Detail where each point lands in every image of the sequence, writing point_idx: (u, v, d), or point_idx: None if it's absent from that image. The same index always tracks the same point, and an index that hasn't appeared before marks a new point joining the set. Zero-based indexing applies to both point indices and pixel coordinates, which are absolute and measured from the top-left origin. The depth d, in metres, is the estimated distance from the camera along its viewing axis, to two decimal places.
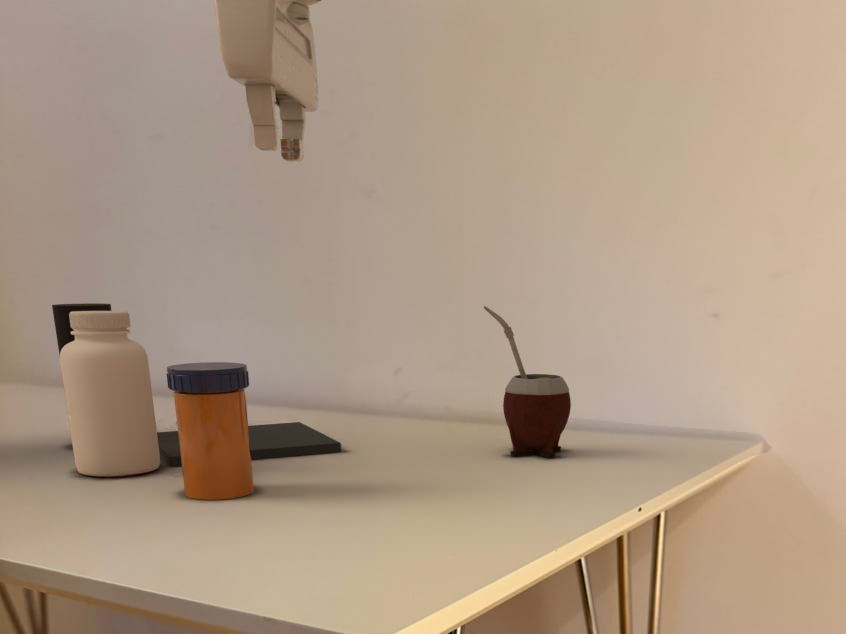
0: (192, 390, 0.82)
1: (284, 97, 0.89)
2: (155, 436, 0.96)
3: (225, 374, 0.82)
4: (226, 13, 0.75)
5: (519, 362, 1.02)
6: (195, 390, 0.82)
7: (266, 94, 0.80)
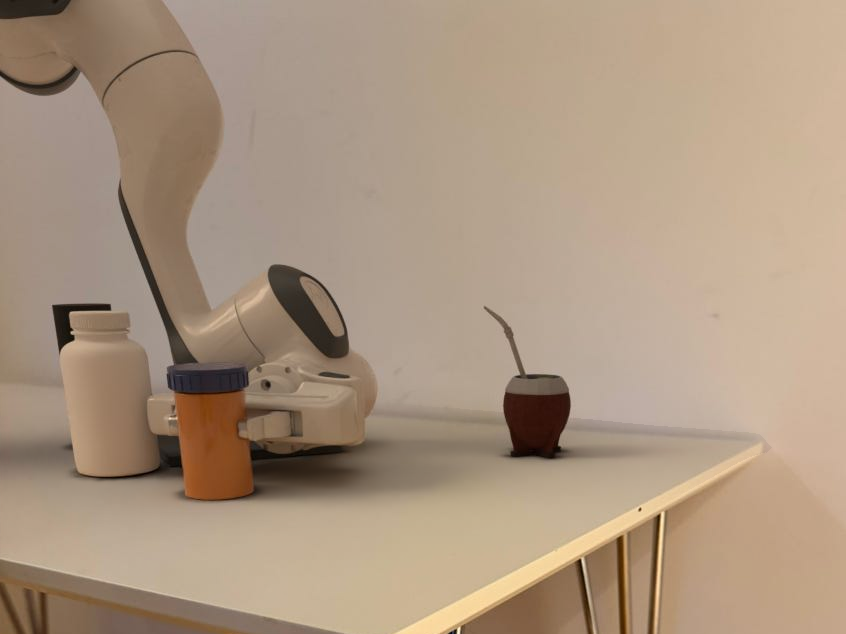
0: (192, 390, 0.82)
1: None
2: (155, 436, 0.96)
3: (225, 374, 0.82)
4: (353, 405, 0.90)
5: (519, 362, 1.02)
6: (195, 390, 0.82)
7: (286, 431, 0.88)
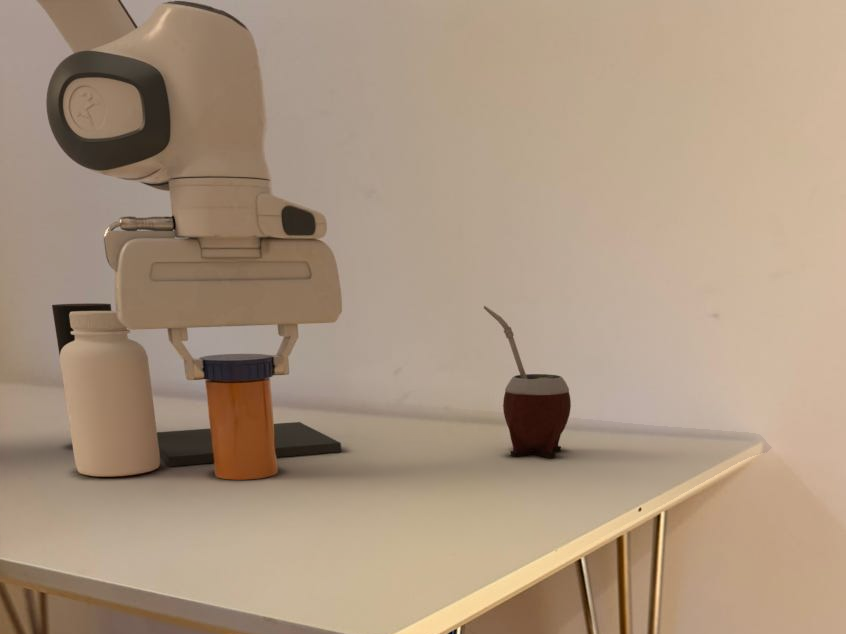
0: (223, 379, 0.90)
1: None
2: (155, 436, 0.96)
3: (253, 364, 0.90)
4: None
5: (519, 362, 1.02)
6: (226, 379, 0.89)
7: None
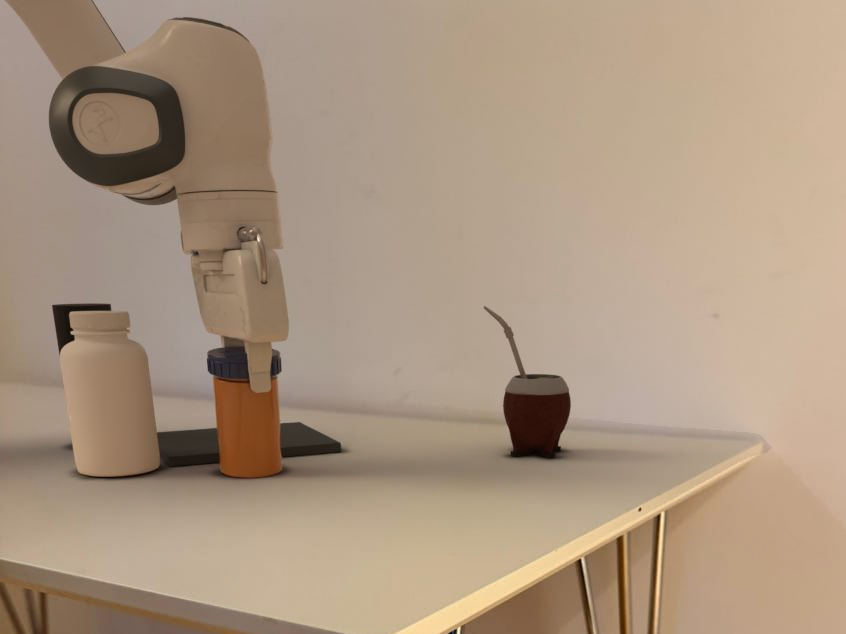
0: (278, 372, 0.92)
1: None
2: (155, 436, 0.96)
3: None
4: None
5: (519, 362, 1.02)
6: (279, 372, 0.92)
7: None
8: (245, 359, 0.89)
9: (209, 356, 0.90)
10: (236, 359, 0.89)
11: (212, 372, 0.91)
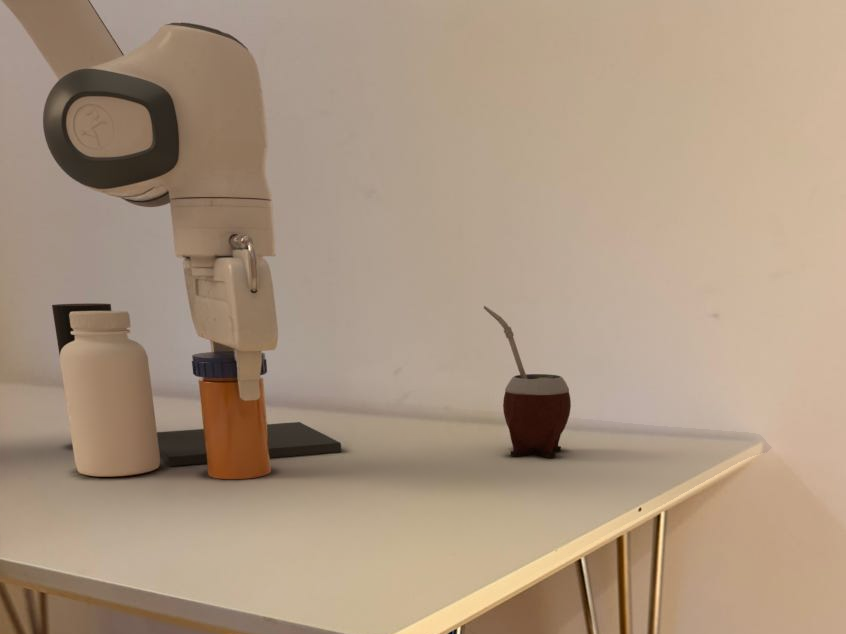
0: None
1: None
2: (155, 436, 0.96)
3: None
4: None
5: (519, 362, 1.02)
6: (264, 372, 0.92)
7: None
8: (228, 358, 0.89)
9: (193, 358, 0.91)
10: (219, 358, 0.89)
11: (196, 373, 0.91)
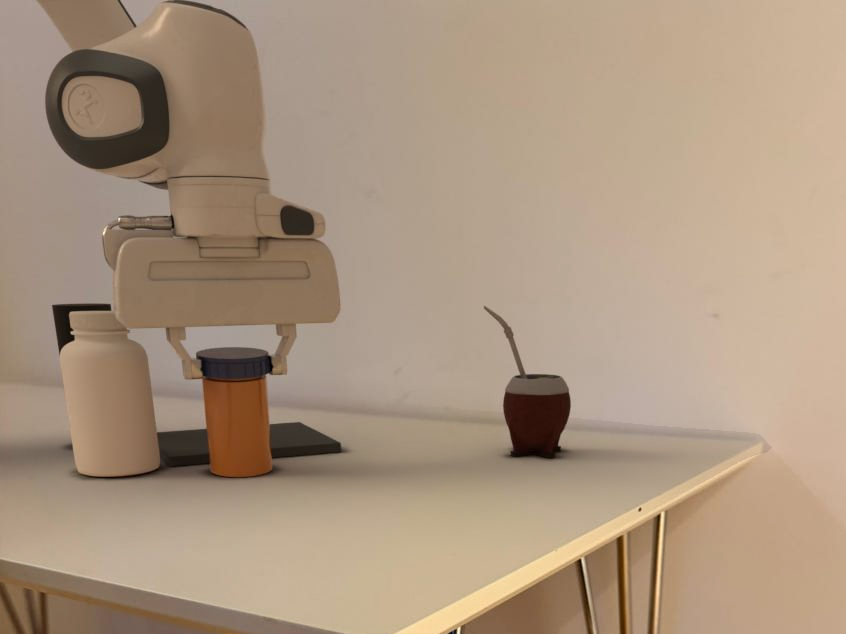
0: (256, 375, 0.91)
1: None
2: (155, 436, 0.96)
3: (268, 357, 0.93)
4: None
5: (519, 362, 1.02)
6: (258, 375, 0.91)
7: None
8: (215, 358, 0.89)
9: None
10: (207, 358, 0.90)
11: None
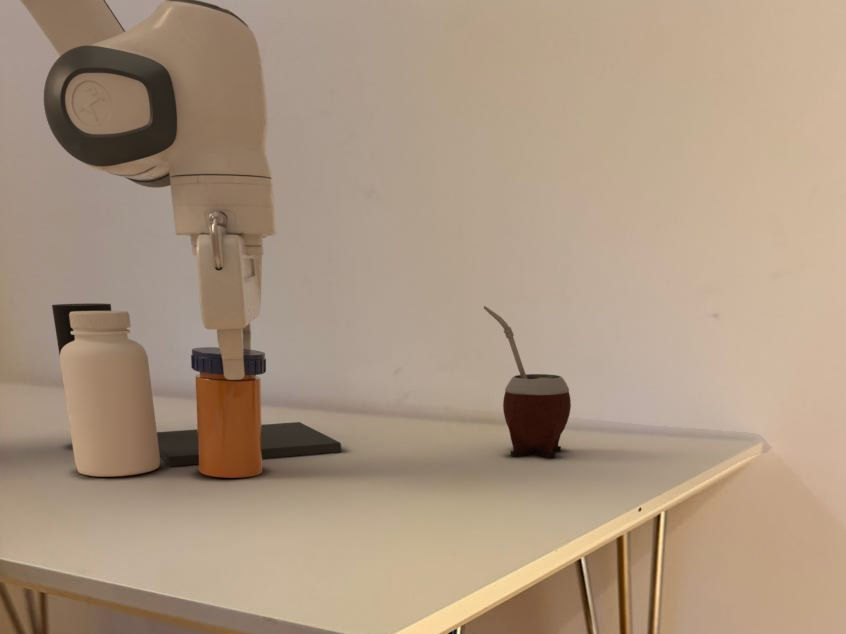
0: None
1: None
2: (155, 436, 0.96)
3: None
4: None
5: (519, 362, 1.02)
6: None
7: None
8: (254, 355, 0.90)
9: (211, 355, 0.89)
10: (247, 356, 0.90)
11: (214, 371, 0.89)
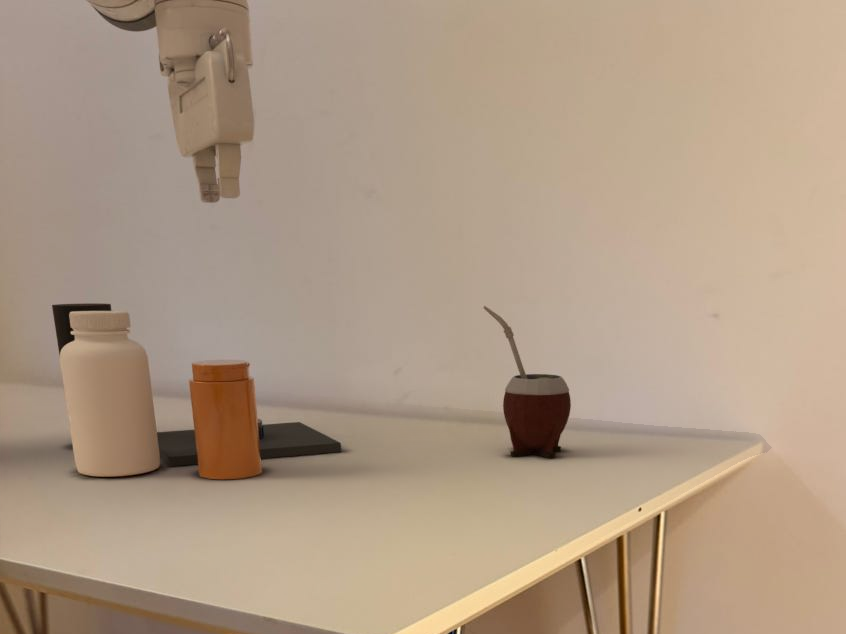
0: None
1: None
2: (155, 436, 0.96)
3: None
4: None
5: (519, 362, 1.02)
6: None
7: None
8: (258, 423, 1.08)
9: None
10: None
11: None
